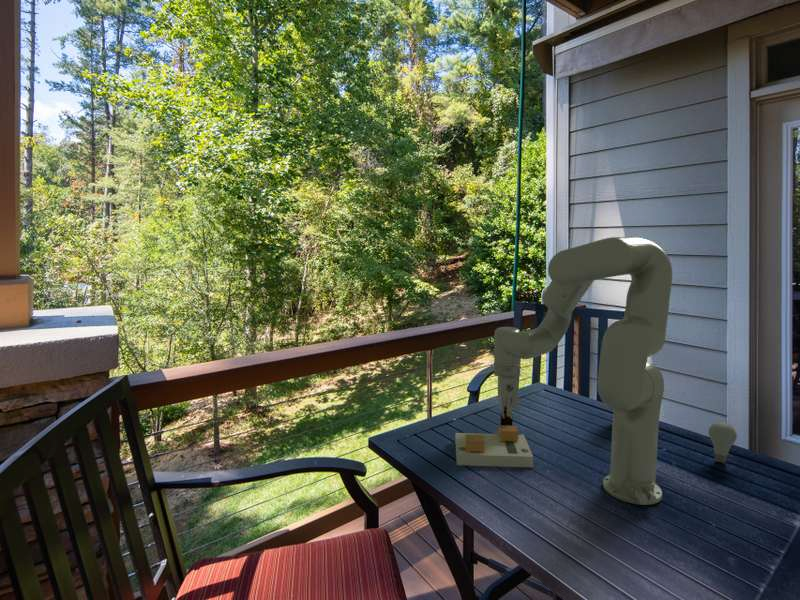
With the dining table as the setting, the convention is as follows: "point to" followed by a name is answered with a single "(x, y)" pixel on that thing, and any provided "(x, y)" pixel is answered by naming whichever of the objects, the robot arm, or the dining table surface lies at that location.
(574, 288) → the robot arm
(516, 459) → the switch panel
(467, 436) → the left tab
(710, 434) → the lightbulb
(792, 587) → the dining table surface
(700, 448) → the dining table surface
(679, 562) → the dining table surface
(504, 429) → the right tab
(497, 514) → the dining table surface
